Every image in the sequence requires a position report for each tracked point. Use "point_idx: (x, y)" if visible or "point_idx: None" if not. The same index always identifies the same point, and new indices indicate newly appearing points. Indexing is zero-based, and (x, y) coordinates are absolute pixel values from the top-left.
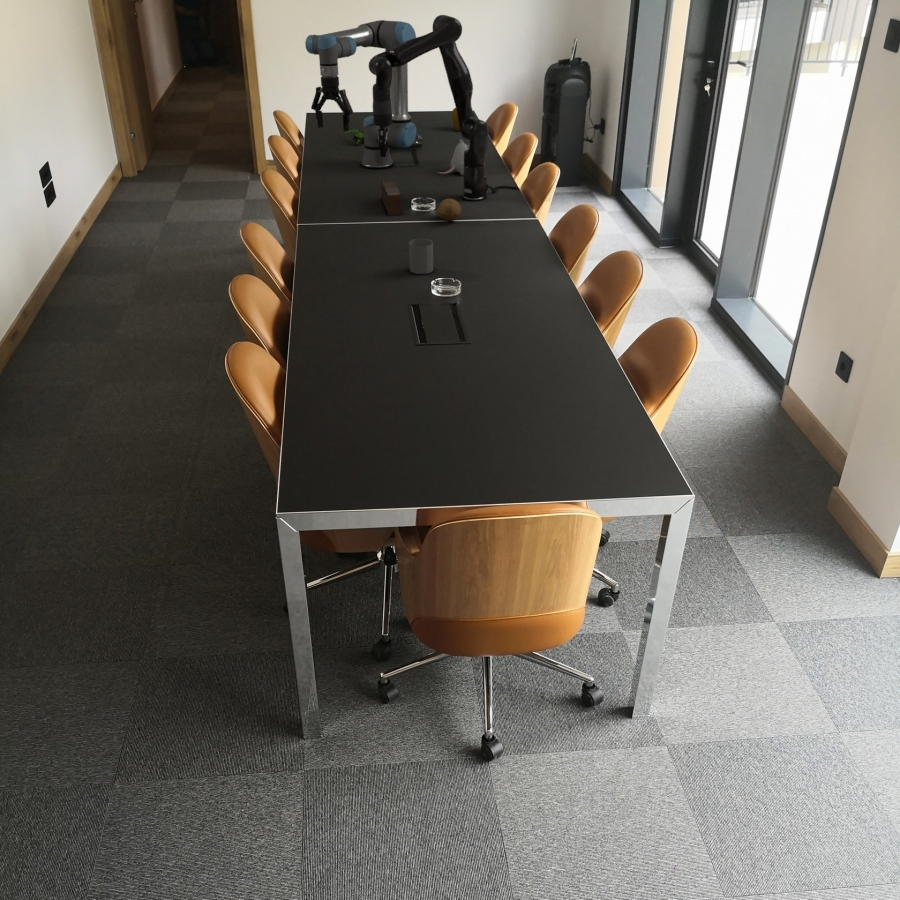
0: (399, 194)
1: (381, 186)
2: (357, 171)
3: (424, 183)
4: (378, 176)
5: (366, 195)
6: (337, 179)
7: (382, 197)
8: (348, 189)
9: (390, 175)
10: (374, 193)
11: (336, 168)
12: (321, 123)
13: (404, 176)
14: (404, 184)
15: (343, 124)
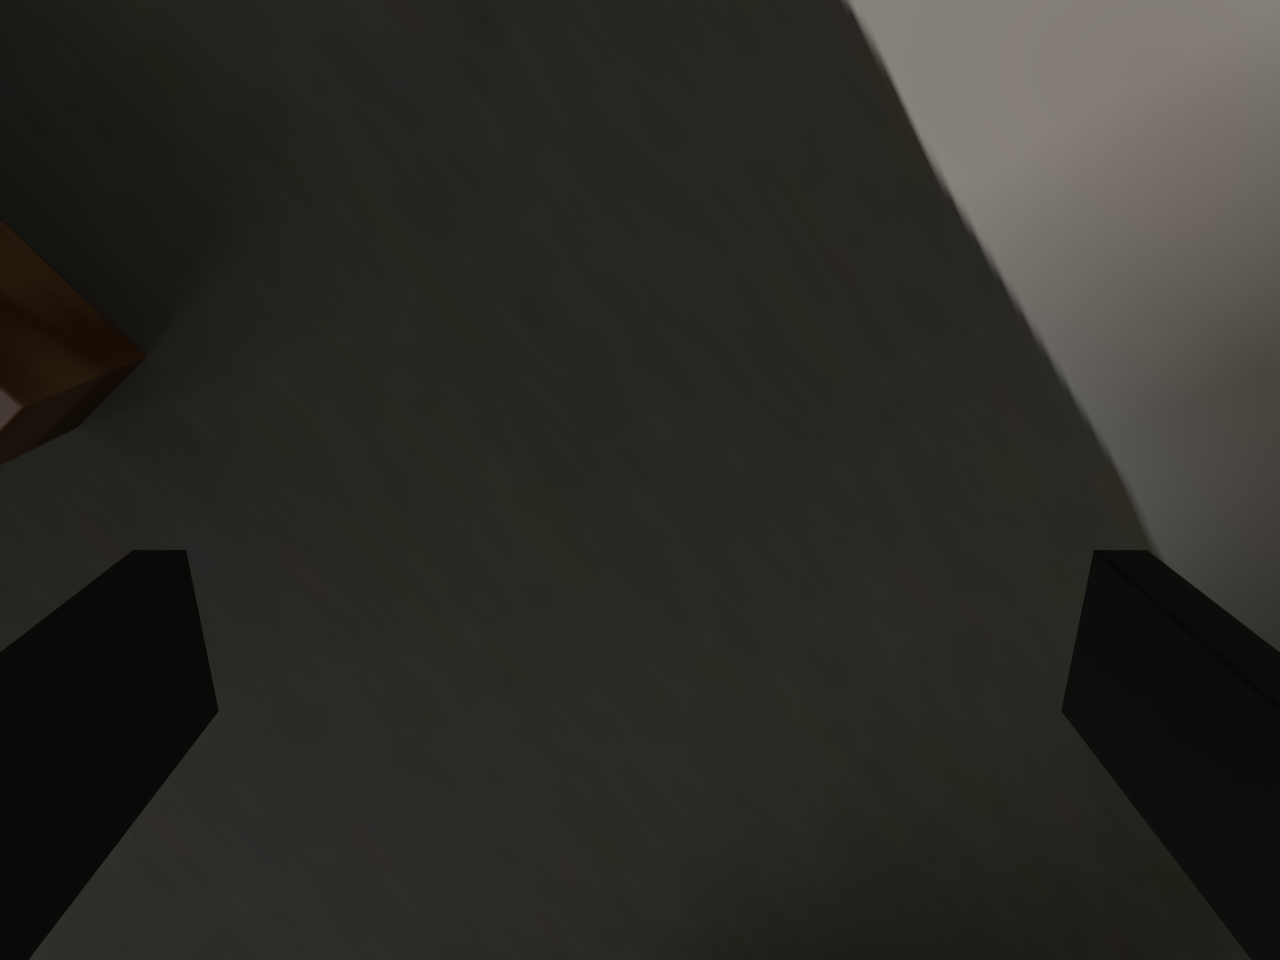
0: None
1: (70, 385)
2: (859, 894)
3: (194, 873)
4: (625, 863)
5: (350, 383)
6: (890, 656)
7: (87, 323)
8: (619, 458)
9: (559, 920)
10: (332, 471)
11: (1066, 886)
12: (1125, 711)
13: (448, 943)
14: (303, 789)
15: (49, 654)
